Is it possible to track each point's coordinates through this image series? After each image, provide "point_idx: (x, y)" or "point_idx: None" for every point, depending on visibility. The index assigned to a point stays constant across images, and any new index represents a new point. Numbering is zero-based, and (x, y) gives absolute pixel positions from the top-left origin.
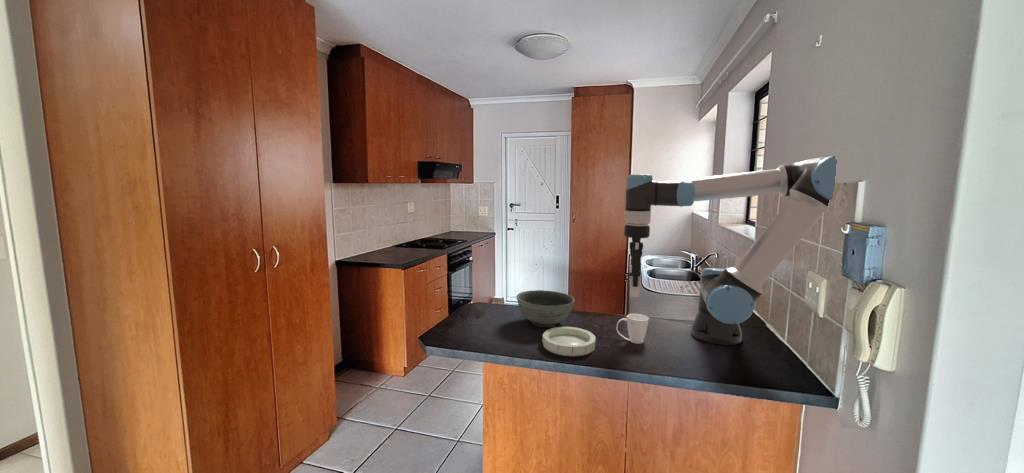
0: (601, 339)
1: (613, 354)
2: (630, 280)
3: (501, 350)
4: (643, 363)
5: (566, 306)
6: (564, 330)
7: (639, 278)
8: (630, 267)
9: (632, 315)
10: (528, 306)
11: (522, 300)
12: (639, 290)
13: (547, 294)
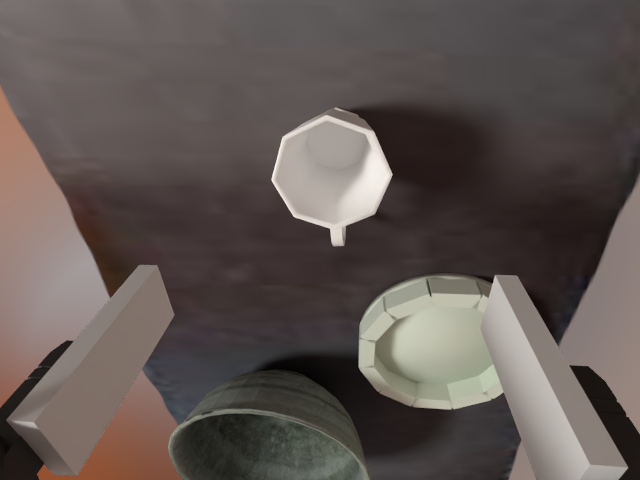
0: (362, 256)
1: (492, 218)
2: (153, 342)
3: (495, 443)
4: (573, 112)
5: (322, 423)
6: (376, 364)
7: (605, 438)
8: (84, 462)
9: (292, 199)
10: None
11: None
12: (540, 318)
13: (187, 456)
